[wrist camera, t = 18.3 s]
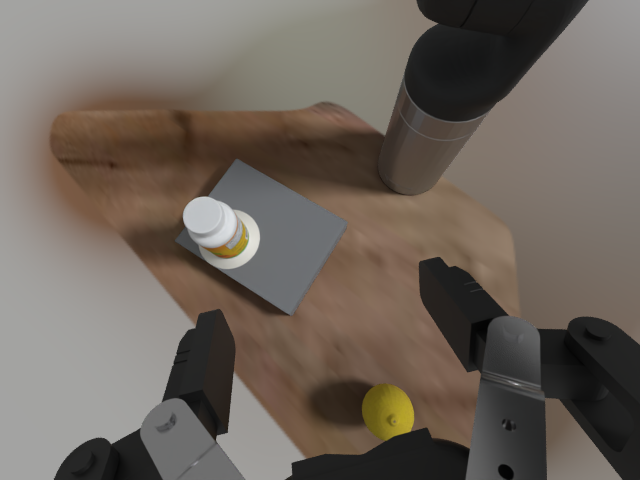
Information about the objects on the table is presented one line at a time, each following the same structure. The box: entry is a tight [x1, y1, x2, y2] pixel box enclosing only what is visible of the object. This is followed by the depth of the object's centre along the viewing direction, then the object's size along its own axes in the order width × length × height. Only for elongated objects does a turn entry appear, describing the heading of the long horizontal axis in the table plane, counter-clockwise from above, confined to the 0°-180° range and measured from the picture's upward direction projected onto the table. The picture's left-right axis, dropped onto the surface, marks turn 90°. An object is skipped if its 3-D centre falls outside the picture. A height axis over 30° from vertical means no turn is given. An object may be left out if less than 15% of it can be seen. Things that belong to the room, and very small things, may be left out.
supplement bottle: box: [183, 197, 249, 259], centre depth 38 cm, size 5×5×10 cm
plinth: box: [175, 158, 348, 316], centre depth 44 cm, size 14×18×3 cm
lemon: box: [362, 384, 414, 441], centre depth 36 cm, size 6×6×8 cm
